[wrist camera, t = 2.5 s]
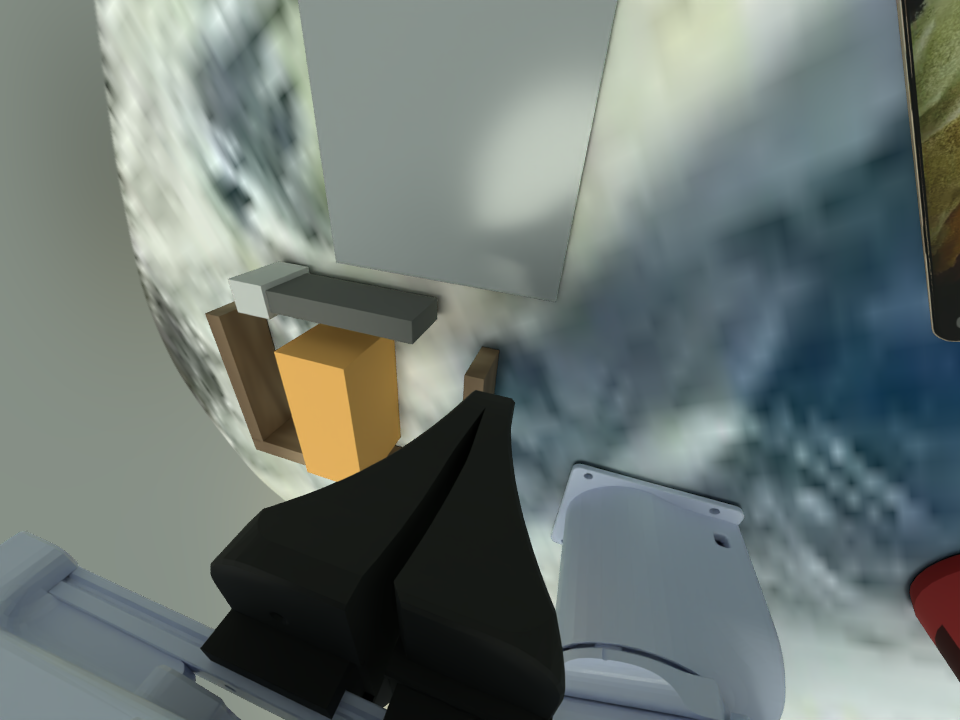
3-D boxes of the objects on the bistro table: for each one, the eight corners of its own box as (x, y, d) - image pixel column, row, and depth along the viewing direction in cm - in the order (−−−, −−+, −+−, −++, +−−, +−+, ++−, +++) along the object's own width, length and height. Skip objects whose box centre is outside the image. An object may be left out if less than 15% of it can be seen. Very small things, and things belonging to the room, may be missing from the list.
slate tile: (632, -73, 11) (633, -80, 10) (556, 299, 17) (555, 302, 17) (296, -59, 13) (288, -65, 13) (340, 260, 19) (336, 262, 19)
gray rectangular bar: (439, 291, 18) (409, 317, 16) (438, 322, 19) (410, 351, 16) (278, 261, 20) (227, 279, 18) (285, 290, 21) (238, 312, 19)
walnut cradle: (499, 350, 19) (484, 379, 17) (483, 483, 25) (470, 518, 23) (247, 295, 23) (205, 313, 20) (285, 423, 29) (256, 449, 26)
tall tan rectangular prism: (394, 325, 21) (343, 369, 17) (401, 435, 26) (363, 490, 22) (336, 313, 22) (273, 351, 18) (353, 422, 27) (307, 472, 22)
